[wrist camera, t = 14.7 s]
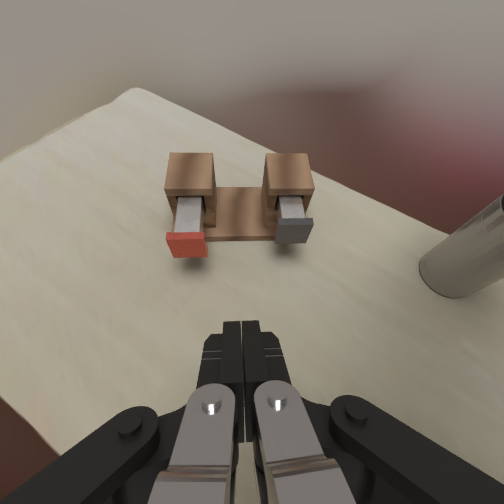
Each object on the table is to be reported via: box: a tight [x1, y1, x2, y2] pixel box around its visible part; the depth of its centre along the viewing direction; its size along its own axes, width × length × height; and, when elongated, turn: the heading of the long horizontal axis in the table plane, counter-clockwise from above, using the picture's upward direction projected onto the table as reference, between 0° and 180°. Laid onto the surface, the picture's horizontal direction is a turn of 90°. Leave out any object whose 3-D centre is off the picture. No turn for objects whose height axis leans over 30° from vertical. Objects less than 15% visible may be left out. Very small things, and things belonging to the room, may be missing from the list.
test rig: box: [164, 153, 315, 241], centre depth 47 cm, size 25×12×12 cm, turn 93°
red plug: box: [166, 196, 208, 258], centre depth 42 cm, size 5×15×5 cm, turn 3°
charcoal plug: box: [274, 195, 314, 244], centre depth 44 cm, size 5×15×5 cm, turn 3°
